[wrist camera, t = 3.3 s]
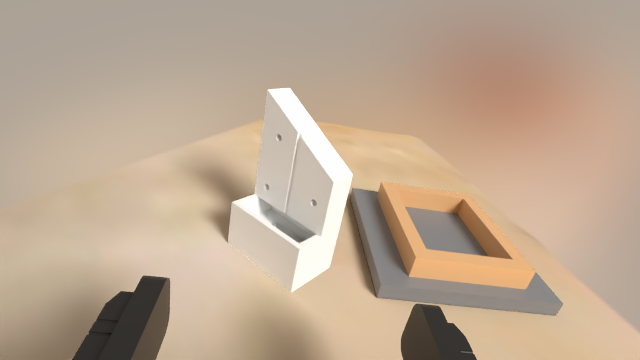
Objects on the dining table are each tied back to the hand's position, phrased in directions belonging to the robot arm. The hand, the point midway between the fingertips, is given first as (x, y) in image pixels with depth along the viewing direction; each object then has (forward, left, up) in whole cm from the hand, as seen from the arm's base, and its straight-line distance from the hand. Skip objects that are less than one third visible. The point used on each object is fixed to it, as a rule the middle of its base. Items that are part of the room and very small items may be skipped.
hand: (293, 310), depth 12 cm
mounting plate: (+12, +14, -6) cm, 19 cm away
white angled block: (0, +10, -6) cm, 12 cm away
